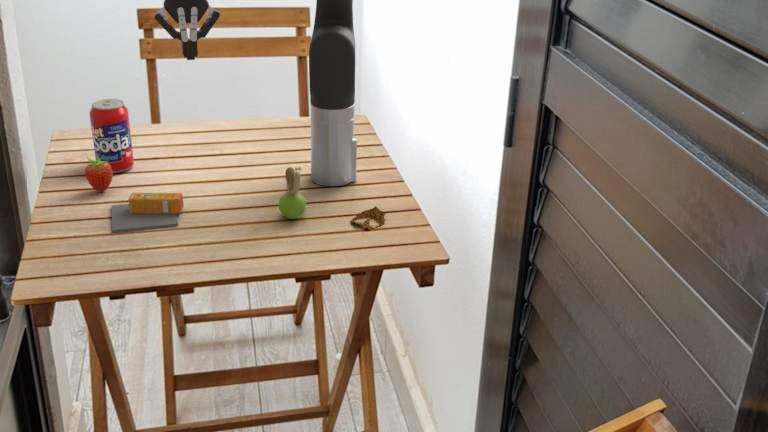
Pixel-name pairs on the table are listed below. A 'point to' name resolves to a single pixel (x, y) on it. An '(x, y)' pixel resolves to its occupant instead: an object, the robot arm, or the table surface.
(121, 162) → the soda can
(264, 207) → the table surface
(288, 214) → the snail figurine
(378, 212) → the leaf
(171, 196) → the supplement box
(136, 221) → the mat
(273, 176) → the table surface
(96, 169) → the fruit
